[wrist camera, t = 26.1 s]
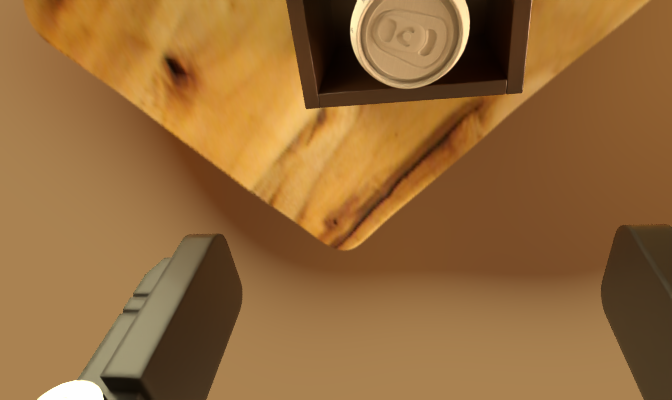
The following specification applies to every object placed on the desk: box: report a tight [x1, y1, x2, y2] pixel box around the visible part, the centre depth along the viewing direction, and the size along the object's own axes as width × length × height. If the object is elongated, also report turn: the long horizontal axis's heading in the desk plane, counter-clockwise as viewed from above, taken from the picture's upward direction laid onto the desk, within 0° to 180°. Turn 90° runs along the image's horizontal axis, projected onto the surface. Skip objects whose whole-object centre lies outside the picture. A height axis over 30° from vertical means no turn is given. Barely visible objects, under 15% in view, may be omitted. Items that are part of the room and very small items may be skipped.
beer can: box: [350, 0, 470, 89], centre depth 29 cm, size 6×6×15 cm
